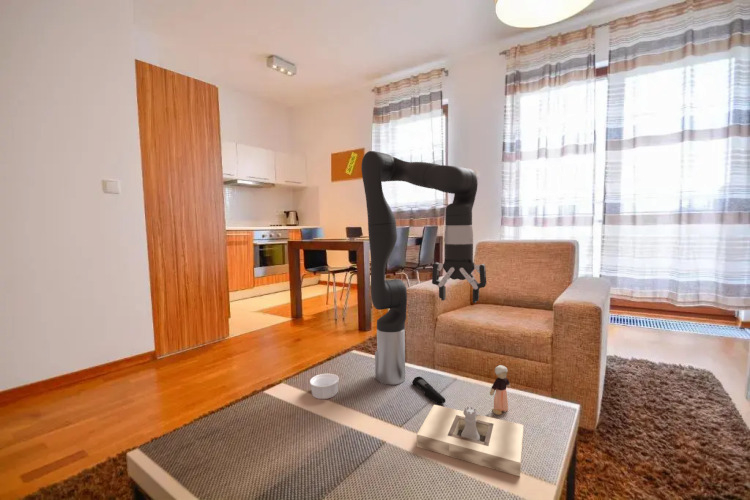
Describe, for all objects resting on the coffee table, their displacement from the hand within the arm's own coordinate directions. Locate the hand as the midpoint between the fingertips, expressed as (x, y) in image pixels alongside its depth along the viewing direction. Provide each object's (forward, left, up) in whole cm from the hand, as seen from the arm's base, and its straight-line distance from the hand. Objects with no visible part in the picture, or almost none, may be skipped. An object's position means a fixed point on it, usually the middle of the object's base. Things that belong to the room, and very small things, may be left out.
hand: (458, 301), depth 92 cm
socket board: (+6, -14, -30) cm, 34 cm away
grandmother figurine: (+11, +3, -30) cm, 32 cm away
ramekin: (-39, -9, -30) cm, 50 cm away
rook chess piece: (+6, -14, -30) cm, 34 cm away
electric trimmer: (-10, +4, -31) cm, 32 cm away
